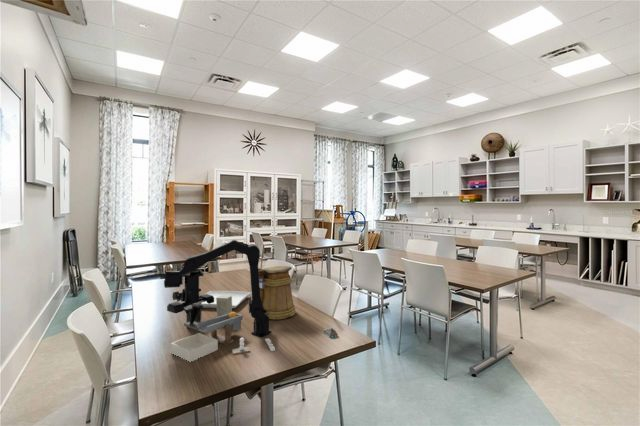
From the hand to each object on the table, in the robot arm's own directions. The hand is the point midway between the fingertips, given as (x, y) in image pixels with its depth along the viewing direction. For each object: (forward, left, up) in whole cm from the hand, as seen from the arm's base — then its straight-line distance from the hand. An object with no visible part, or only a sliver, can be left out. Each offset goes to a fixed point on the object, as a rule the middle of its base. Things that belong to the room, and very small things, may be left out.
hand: (191, 323), depth 133 cm
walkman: (+21, -64, -8) cm, 68 cm away
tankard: (-7, -43, -8) cm, 44 cm away
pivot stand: (-10, -7, -7) cm, 14 cm away
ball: (-10, -14, +1) cm, 17 cm away
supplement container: (+13, -10, -8) cm, 18 cm away
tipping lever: (-6, -7, -4) cm, 10 cm away
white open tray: (-10, +5, -7) cm, 13 cm away
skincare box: (+6, -22, -8) cm, 24 cm away
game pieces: (-33, -22, -8) cm, 41 cm away
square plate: (+31, -41, -8) cm, 52 cm away
